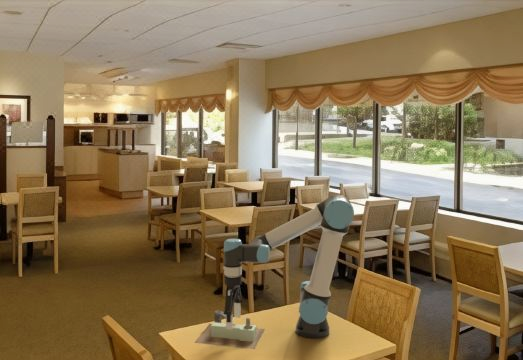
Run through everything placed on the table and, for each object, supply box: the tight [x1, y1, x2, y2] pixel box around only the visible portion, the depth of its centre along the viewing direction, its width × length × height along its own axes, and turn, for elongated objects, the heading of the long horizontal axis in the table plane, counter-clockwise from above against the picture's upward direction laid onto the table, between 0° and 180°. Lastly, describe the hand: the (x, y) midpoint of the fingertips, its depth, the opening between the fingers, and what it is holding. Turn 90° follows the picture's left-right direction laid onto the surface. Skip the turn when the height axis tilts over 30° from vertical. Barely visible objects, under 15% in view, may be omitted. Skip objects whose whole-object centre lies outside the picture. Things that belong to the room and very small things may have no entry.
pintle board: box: [194, 309, 266, 350], centre depth 234 cm, size 26×22×10 cm
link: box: [211, 321, 257, 342], centre depth 232 cm, size 19×6×5 cm, turn 79°
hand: (233, 323), depth 232 cm, fingers open, 13 cm apart
